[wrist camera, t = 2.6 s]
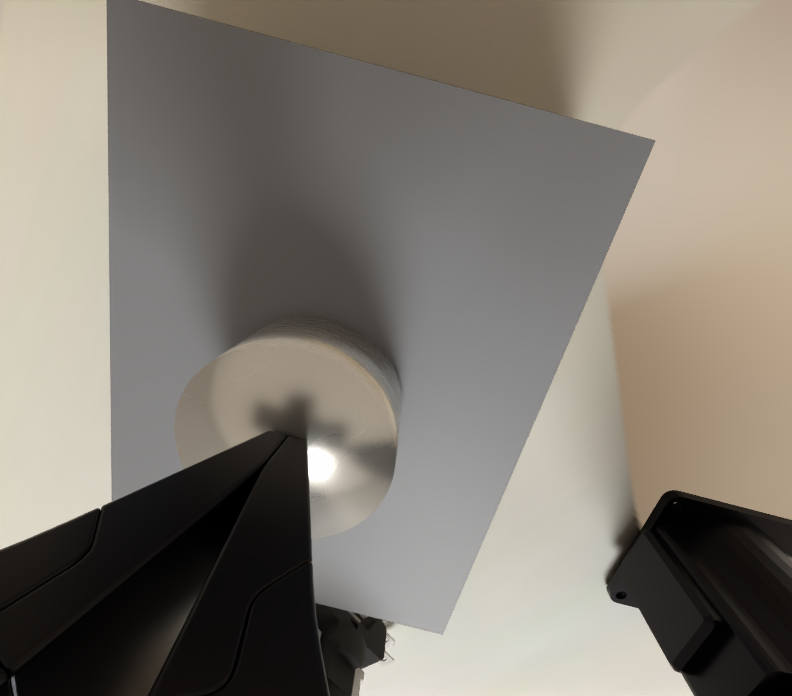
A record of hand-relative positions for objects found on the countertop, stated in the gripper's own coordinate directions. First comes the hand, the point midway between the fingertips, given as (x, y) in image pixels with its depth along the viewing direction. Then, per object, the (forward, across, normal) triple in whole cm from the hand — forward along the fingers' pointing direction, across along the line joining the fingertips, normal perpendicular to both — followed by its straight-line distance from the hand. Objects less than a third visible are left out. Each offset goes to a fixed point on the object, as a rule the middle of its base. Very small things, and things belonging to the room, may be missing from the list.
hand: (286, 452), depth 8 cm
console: (+8, 0, 0) cm, 8 cm away
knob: (+8, 0, 0) cm, 8 cm away
